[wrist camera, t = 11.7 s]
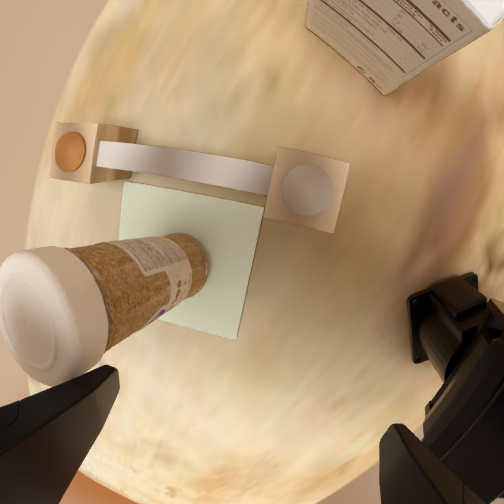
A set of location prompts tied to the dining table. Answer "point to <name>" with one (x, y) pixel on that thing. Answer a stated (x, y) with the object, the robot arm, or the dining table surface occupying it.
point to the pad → (212, 241)
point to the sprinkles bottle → (91, 298)
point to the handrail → (206, 171)
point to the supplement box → (400, 33)
